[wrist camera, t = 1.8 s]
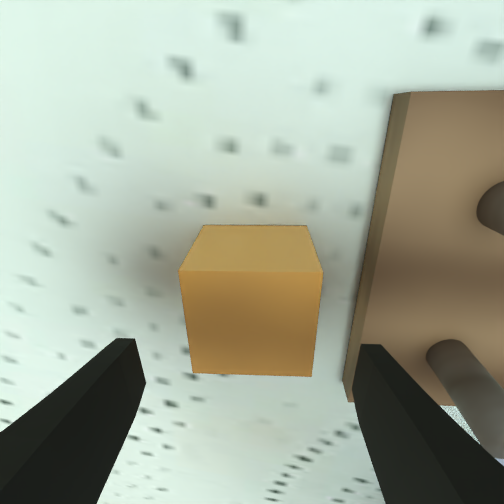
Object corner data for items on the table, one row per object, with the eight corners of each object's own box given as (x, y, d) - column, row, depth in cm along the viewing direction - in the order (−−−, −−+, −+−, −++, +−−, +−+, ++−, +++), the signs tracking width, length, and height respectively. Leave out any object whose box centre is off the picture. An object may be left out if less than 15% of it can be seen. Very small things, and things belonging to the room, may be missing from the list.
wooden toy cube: (300, 309, 16) (311, 376, 12) (211, 308, 16) (192, 373, 12) (306, 225, 14) (323, 272, 10) (203, 225, 14) (178, 270, 10)
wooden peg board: (488, 385, 18) (586, 504, 12) (342, 380, 18) (374, 493, 13) (637, 90, 11) (1011, 66, 5) (393, 94, 11) (512, 76, 6)
